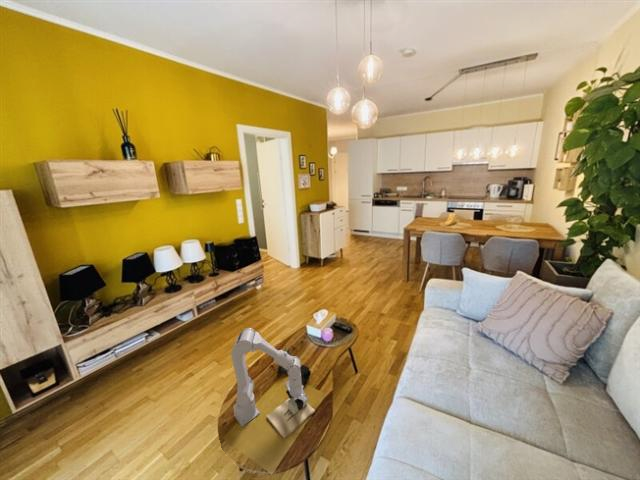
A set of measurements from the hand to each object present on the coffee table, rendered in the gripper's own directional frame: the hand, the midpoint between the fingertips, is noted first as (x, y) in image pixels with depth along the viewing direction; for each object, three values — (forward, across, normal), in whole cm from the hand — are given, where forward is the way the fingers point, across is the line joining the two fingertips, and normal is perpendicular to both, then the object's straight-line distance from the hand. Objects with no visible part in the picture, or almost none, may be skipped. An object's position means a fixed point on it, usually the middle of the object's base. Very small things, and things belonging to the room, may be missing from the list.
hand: (297, 405), depth 124 cm
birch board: (+2, 0, +4) cm, 5 cm away
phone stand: (+3, +25, -12) cm, 28 cm away
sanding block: (+1, 0, 0) cm, 1 cm away
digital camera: (+3, +11, -12) cm, 16 cm away
